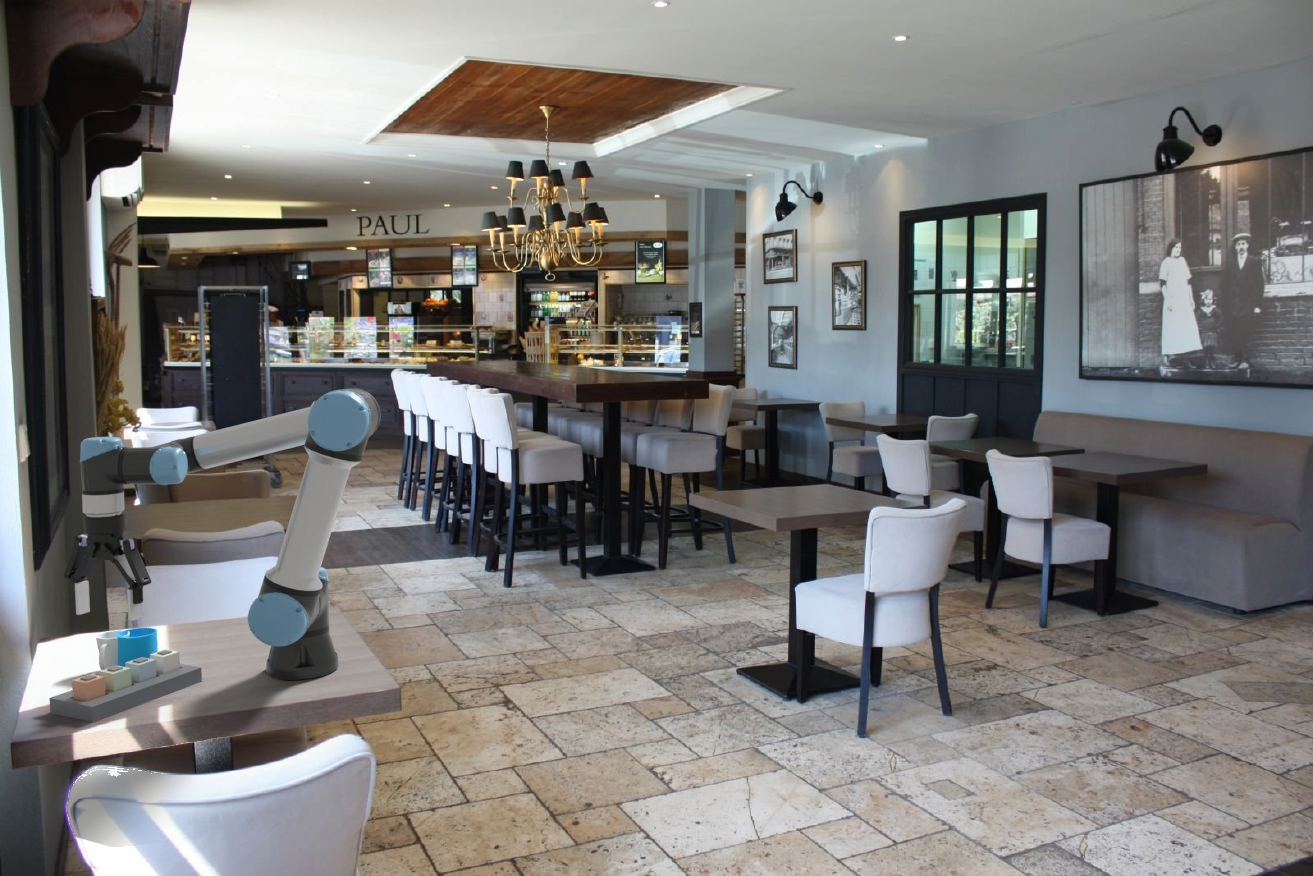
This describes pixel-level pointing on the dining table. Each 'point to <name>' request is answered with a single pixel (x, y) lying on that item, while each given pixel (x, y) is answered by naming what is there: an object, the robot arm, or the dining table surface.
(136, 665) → the key blue
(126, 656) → the mug
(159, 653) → the key ivory
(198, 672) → the grey board
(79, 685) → the orange hollow cube
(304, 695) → the dining table surface
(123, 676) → the pale green square block
